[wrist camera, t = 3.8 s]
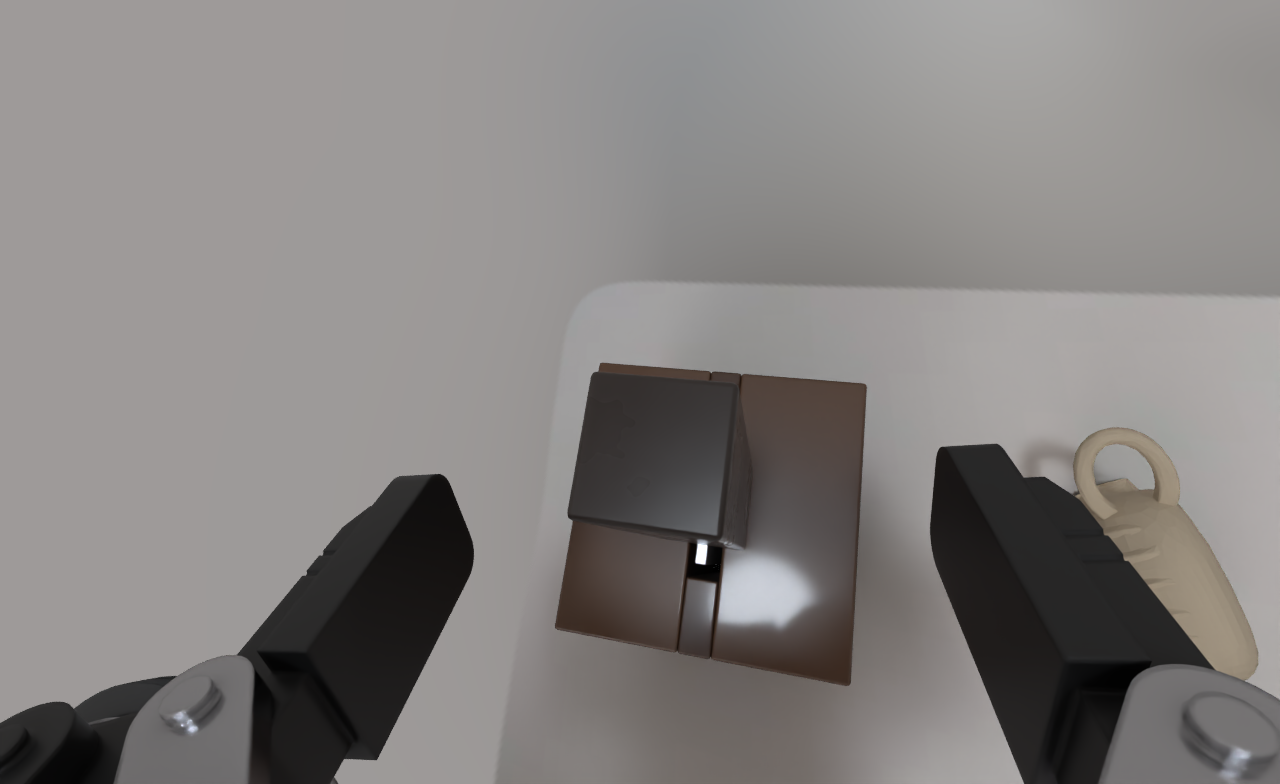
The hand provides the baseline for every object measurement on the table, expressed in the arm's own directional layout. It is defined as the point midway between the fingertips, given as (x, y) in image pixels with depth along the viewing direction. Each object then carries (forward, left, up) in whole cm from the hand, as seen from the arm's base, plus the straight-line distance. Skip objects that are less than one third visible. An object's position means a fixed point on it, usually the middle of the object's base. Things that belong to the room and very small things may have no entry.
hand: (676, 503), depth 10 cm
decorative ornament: (+5, -12, -15) cm, 20 cm away
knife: (0, 0, -15) cm, 15 cm away
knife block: (0, 0, -15) cm, 15 cm away
